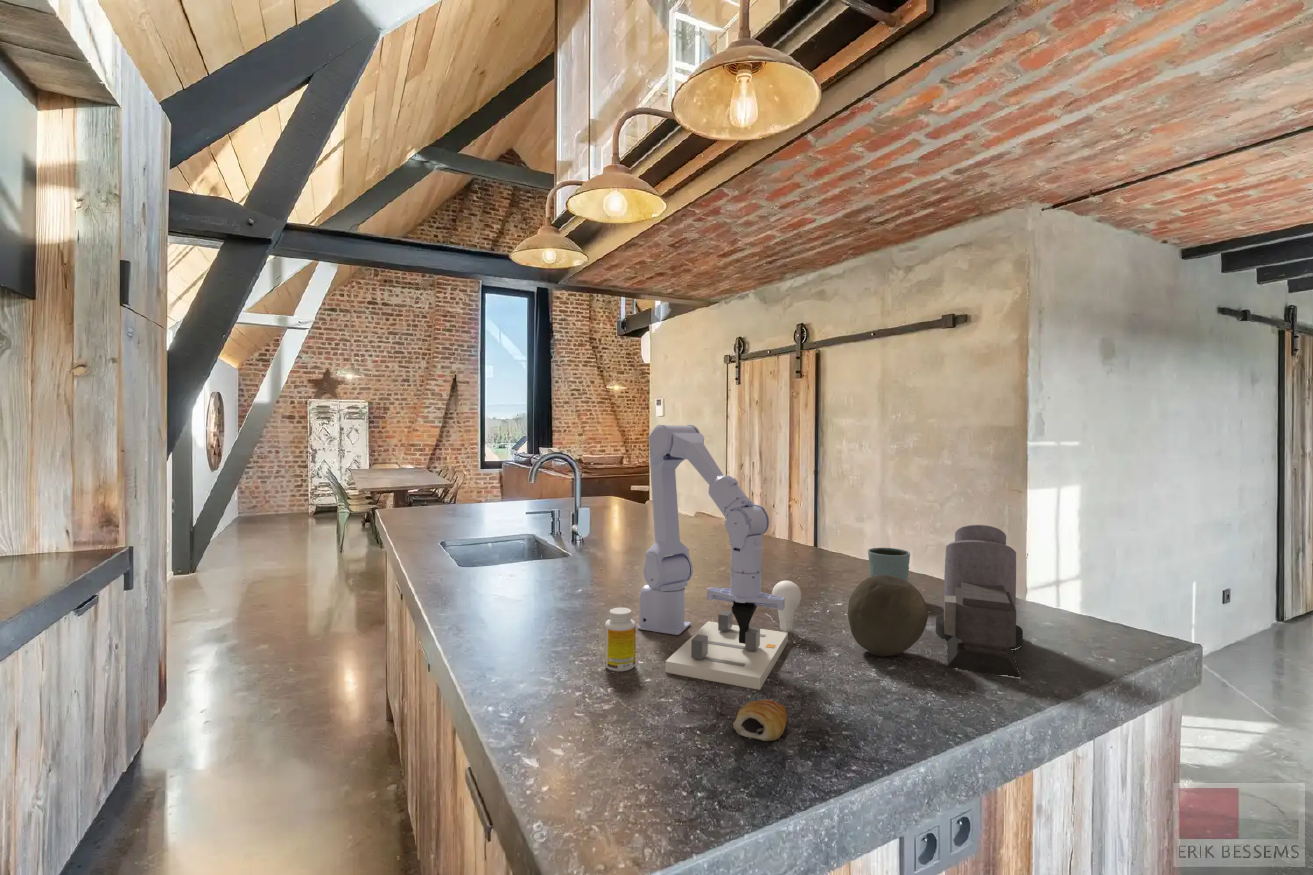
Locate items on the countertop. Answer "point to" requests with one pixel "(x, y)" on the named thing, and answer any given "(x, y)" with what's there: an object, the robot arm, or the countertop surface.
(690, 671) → the breaker panel
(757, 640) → the block
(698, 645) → the block
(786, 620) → the lightbulb
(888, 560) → the drinking glass
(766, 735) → the pastry
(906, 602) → the cantaloupe
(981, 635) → the juicer
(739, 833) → the countertop surface
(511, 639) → the countertop surface
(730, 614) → the block
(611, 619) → the supplement bottle
